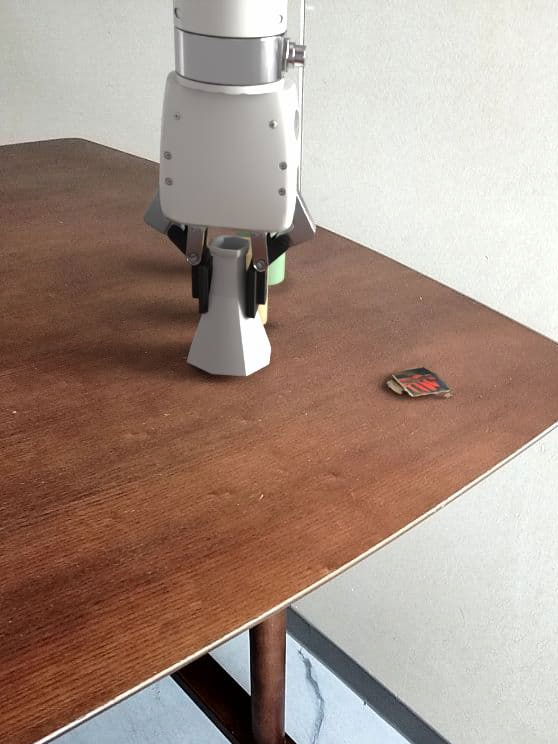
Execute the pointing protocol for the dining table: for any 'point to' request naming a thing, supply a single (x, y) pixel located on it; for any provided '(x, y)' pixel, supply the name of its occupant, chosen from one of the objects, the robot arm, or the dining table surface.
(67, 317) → the dining table surface
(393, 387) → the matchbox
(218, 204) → the robot arm
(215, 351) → the flask
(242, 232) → the mint green cylinder
